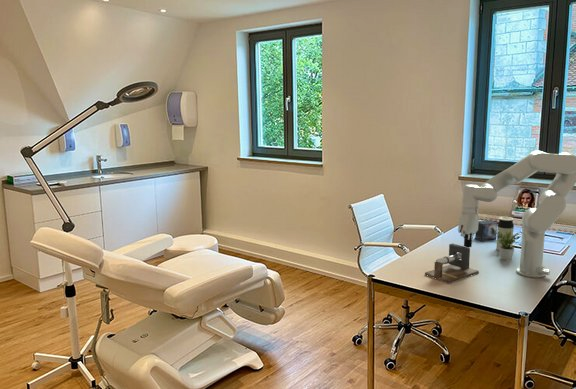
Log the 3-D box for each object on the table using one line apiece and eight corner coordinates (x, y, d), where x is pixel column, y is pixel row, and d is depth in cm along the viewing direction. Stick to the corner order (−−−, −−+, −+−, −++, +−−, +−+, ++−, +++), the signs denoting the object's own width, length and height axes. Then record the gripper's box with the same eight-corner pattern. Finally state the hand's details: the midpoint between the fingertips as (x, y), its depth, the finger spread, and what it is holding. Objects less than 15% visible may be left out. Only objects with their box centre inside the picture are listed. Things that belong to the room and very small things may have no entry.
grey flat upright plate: (469, 268, 234) (470, 248, 232) (465, 269, 232) (466, 249, 230) (451, 262, 242) (452, 243, 240) (448, 263, 240) (449, 244, 239)
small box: (481, 241, 287) (482, 224, 285) (474, 238, 293) (475, 221, 291) (496, 239, 290) (497, 222, 288) (489, 236, 296) (490, 219, 294)
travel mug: (509, 247, 273) (511, 216, 270) (514, 252, 266) (516, 219, 262) (494, 247, 274) (496, 216, 271) (499, 251, 266) (500, 219, 263)
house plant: (525, 264, 245) (528, 233, 242) (496, 263, 248) (498, 232, 245) (518, 256, 259) (520, 226, 256) (490, 254, 262) (492, 225, 259)
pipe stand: (478, 273, 235) (479, 253, 233) (448, 283, 223) (449, 263, 221) (454, 265, 247) (455, 247, 245) (424, 274, 235) (425, 255, 233)
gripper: (472, 206, 243) (470, 242, 246) (453, 210, 235) (451, 247, 238) (486, 209, 237) (483, 245, 240) (466, 213, 229) (464, 251, 232)
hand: (467, 246), depth 239 cm, fingers closed
